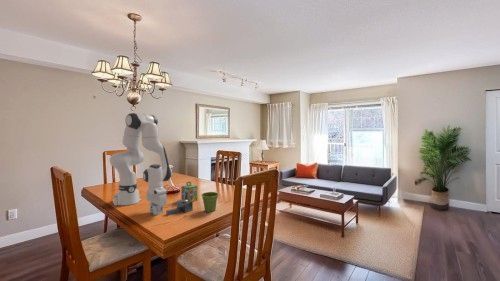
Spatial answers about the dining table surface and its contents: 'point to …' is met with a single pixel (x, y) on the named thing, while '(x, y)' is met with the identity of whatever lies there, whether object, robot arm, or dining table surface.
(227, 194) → the dining table surface
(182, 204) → the coupler
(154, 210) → the lock block
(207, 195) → the plant pot
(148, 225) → the dining table surface
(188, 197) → the green patterned lantern
